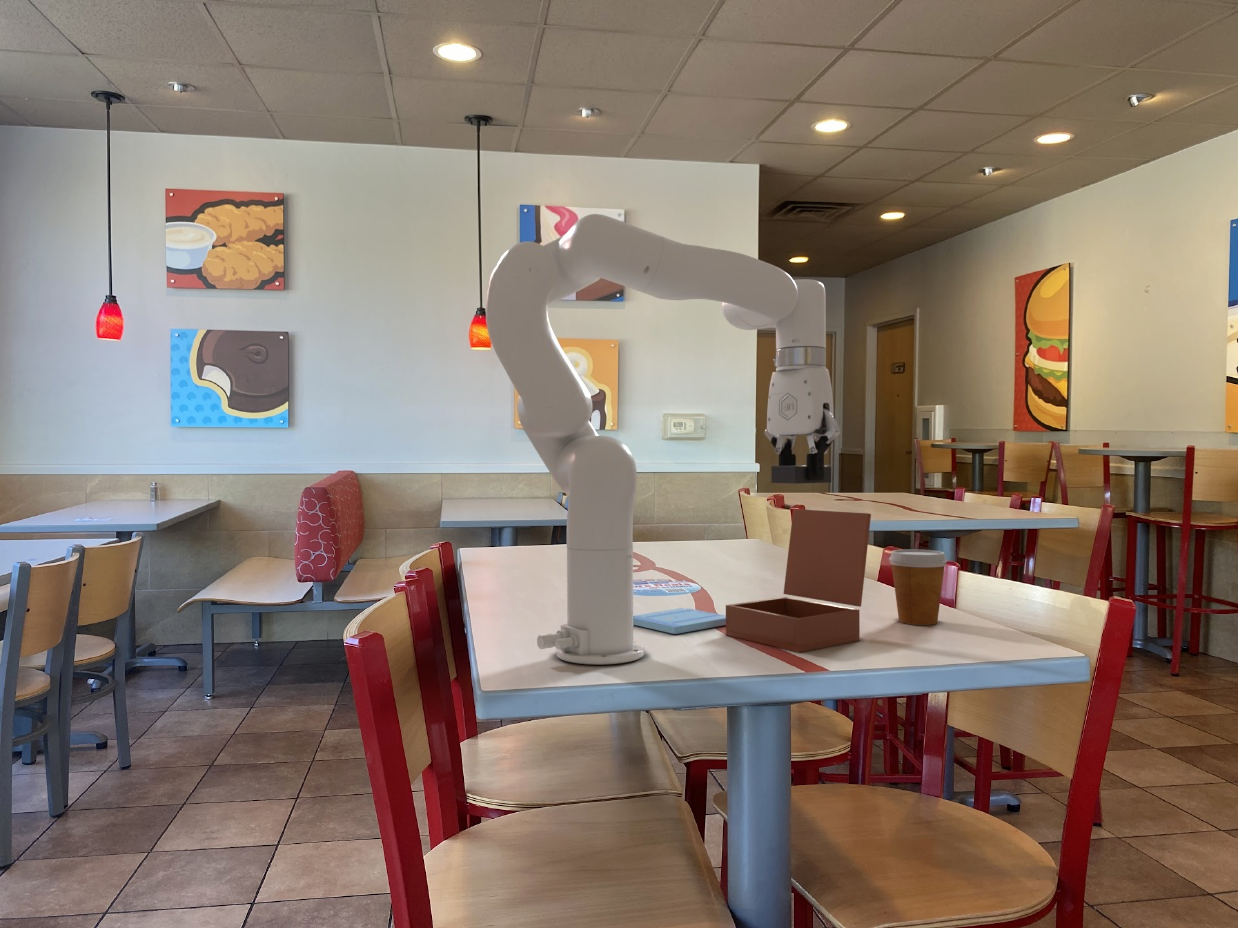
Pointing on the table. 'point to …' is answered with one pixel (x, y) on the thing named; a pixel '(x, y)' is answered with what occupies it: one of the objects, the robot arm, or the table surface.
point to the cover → (827, 556)
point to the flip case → (793, 623)
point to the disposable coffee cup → (918, 584)
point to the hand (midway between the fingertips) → (801, 478)
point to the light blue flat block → (679, 620)
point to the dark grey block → (796, 475)
